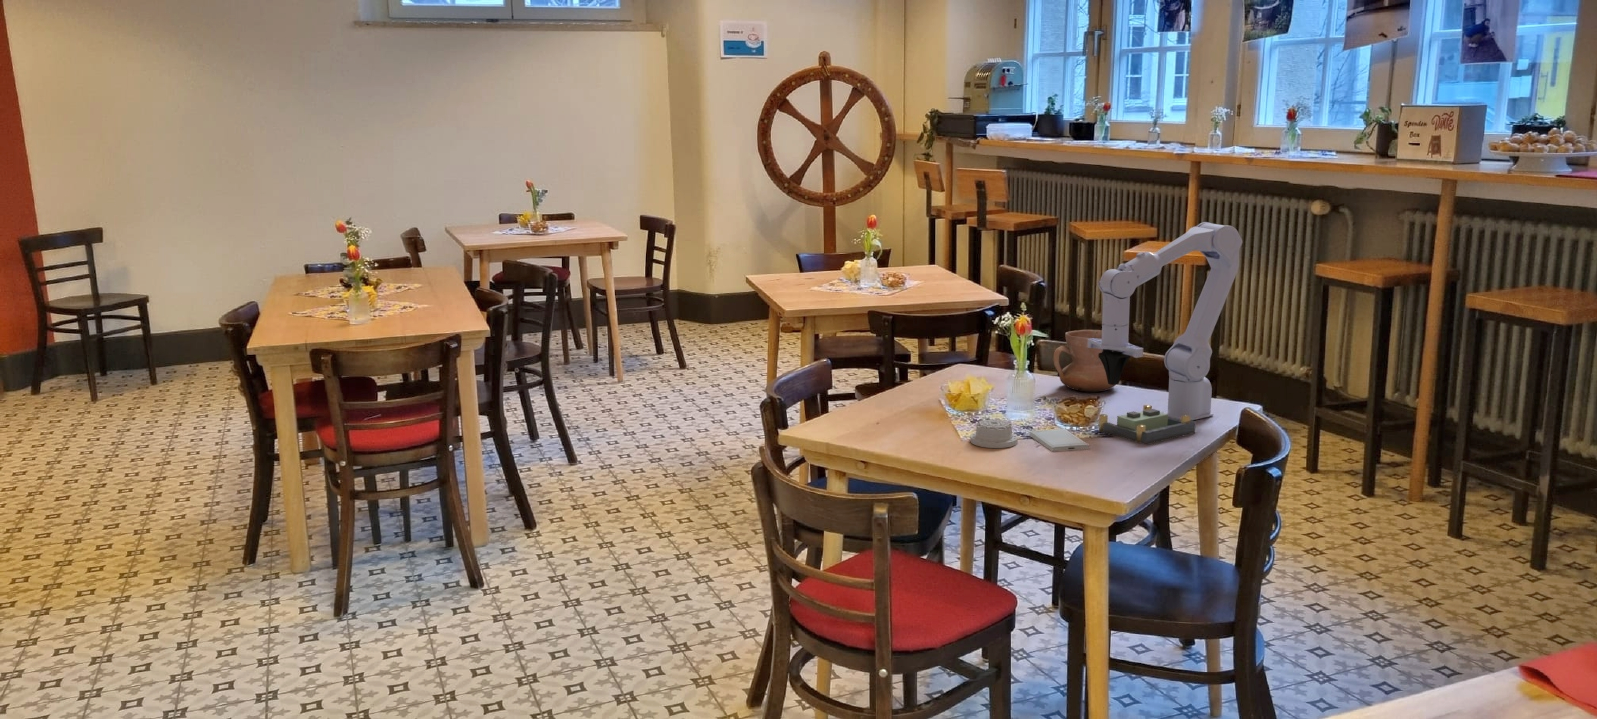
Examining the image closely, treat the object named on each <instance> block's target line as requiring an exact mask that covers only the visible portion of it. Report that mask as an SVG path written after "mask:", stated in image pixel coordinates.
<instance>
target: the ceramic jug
mask: <svg viewBox="0 0 1597 719" xmlns="http://www.w3.org/2000/svg"><path fill="white" fill-rule="evenodd" d="M1064 337H1065V342H1066V346H1065V345H1060V346H1058V347H1057V348H1056V349H1055V350H1054V353H1053V356H1052V358H1053V365H1054V367H1055V369H1056V371H1057V372H1058V375H1059V381H1060V382H1061V383H1062V384H1063V385H1064V386H1066V387H1068V388H1069V389H1073V390H1076V391H1080V392H1085V393H1086V392H1087V393H1088V392H1093V393H1097V392H1104V391H1107V390H1110V389H1113V388H1114V387H1115V386H1116V385H1117V384H1115V385H1110V384H1108V381H1107V376H1106V372H1105V369H1104V366H1103V364H1102V362H1101V360H1100V358H1099V357H1098V354H1099V353H1102V351H1103V350H1101V349H1097V348H1088V347H1087V342H1088V339H1092V338H1096V339H1102V329H1101V330H1100V329H1080V330H1072V331H1071V330H1070V331H1067V332H1065V336H1064ZM1064 352H1065V353H1067V354H1068V355H1069V356H1070V357H1071V359H1072V362H1071V363H1069V364H1068V365H1066V366H1064V367H1063V368H1062V367H1061V363H1060V357H1061V354H1062V353H1064Z"/></svg>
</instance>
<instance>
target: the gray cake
mask: <svg viewBox="0 0 1597 719" xmlns="http://www.w3.org/2000/svg"><path fill="white" fill-rule="evenodd" d="M1018 440H1019V437H1018V436H1017V434H1015V433H1013V423H1010V422H1009V421H1008V420H1005V419H1004V420H1002V419H994V418H991V419H982V420H979V421H977V423H976V427H975V432H973V433H971V434H970V440H969V441H970V443H971V444H972V445H975V446H977V447H981V448H987V449H1004V448H1010V447H1015V446H1016V445H1017V444H1018Z"/></svg>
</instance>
